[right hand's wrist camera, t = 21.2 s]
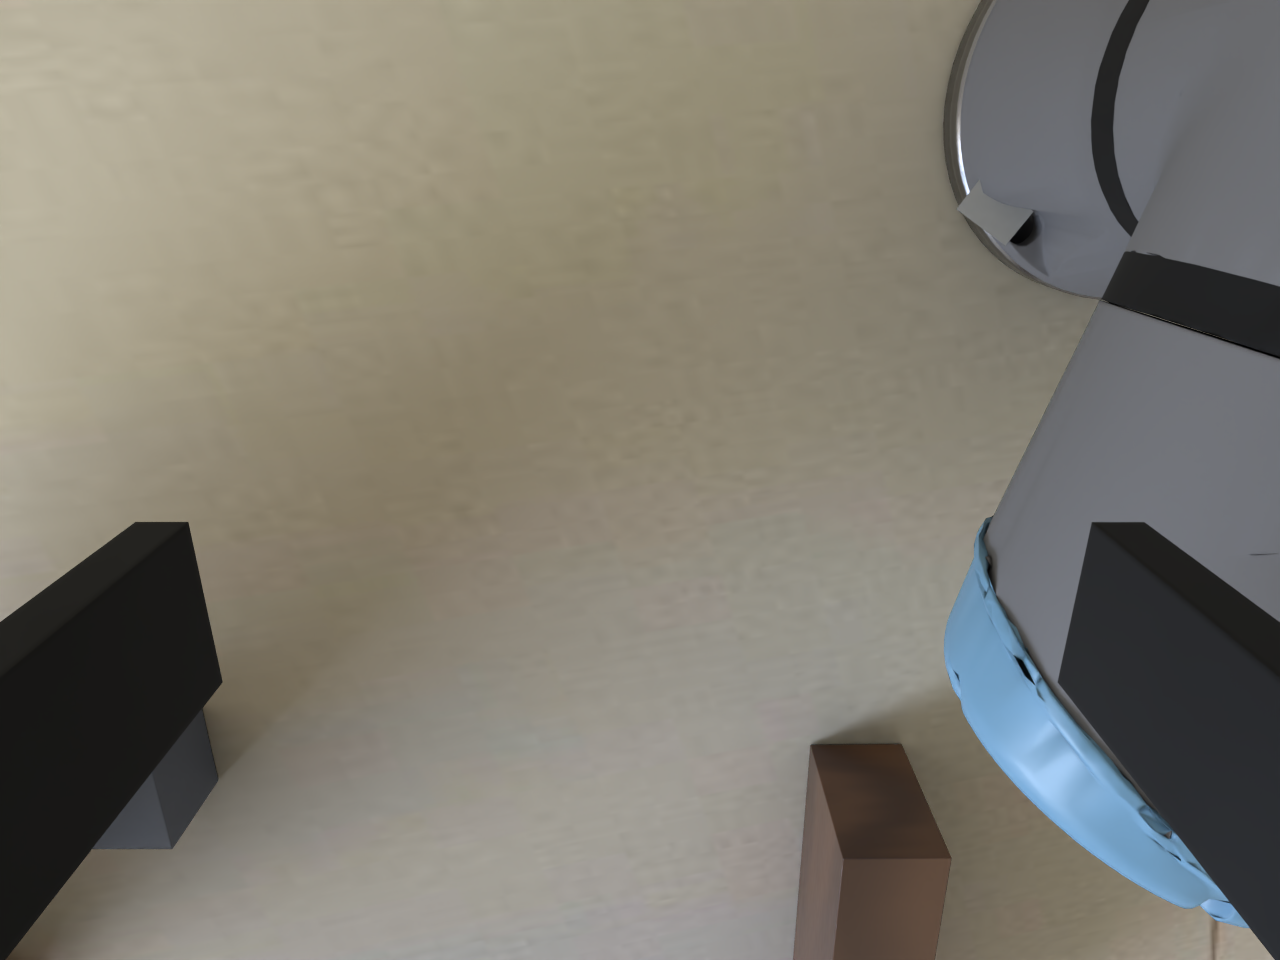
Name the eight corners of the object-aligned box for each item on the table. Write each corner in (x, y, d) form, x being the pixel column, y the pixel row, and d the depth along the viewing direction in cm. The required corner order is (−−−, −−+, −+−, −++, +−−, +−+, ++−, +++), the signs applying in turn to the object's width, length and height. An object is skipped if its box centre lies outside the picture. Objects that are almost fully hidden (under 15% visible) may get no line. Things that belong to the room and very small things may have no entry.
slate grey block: (201, 705, 45) (151, 769, 41) (218, 780, 47) (172, 849, 42) (108, 705, 45) (47, 769, 41) (129, 780, 47) (73, 849, 42)
